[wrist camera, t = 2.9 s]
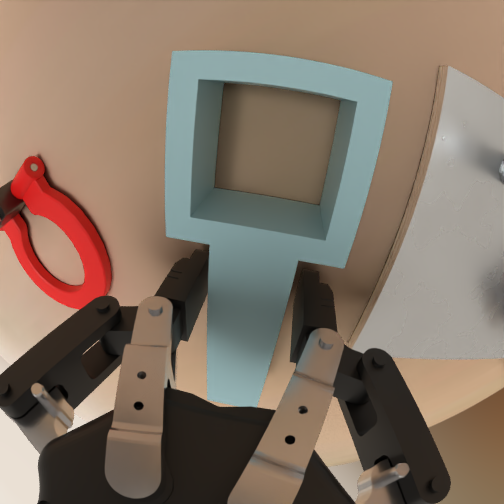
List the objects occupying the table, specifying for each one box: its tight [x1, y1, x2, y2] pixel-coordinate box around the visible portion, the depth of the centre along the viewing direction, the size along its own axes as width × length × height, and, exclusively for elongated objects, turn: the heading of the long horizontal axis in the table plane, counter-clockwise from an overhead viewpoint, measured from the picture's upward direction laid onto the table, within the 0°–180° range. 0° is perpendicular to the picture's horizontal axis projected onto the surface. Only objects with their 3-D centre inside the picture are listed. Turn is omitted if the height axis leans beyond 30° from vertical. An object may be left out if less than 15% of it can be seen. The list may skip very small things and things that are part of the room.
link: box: [165, 50, 393, 407], centre depth 12 cm, size 17×6×3 cm, turn 173°
